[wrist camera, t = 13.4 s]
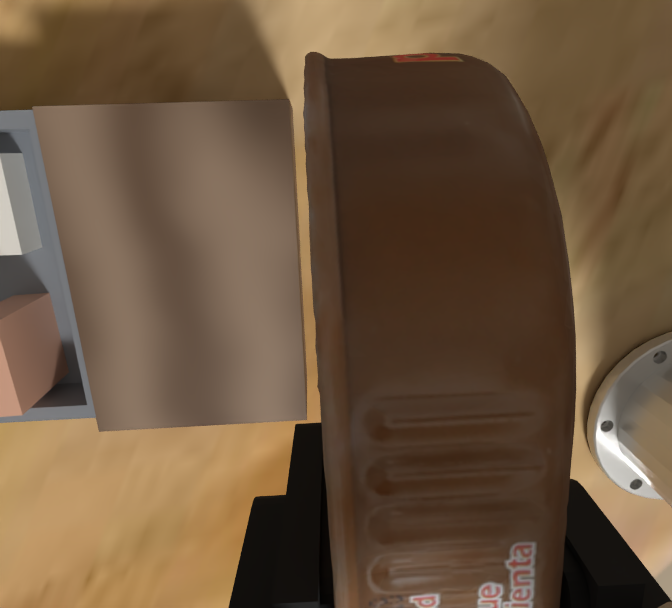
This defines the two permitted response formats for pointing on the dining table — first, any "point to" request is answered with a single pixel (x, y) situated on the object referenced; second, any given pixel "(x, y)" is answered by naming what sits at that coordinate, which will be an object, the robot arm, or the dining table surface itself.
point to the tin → (438, 334)
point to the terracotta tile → (28, 352)
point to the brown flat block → (181, 258)
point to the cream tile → (16, 208)
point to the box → (44, 277)
